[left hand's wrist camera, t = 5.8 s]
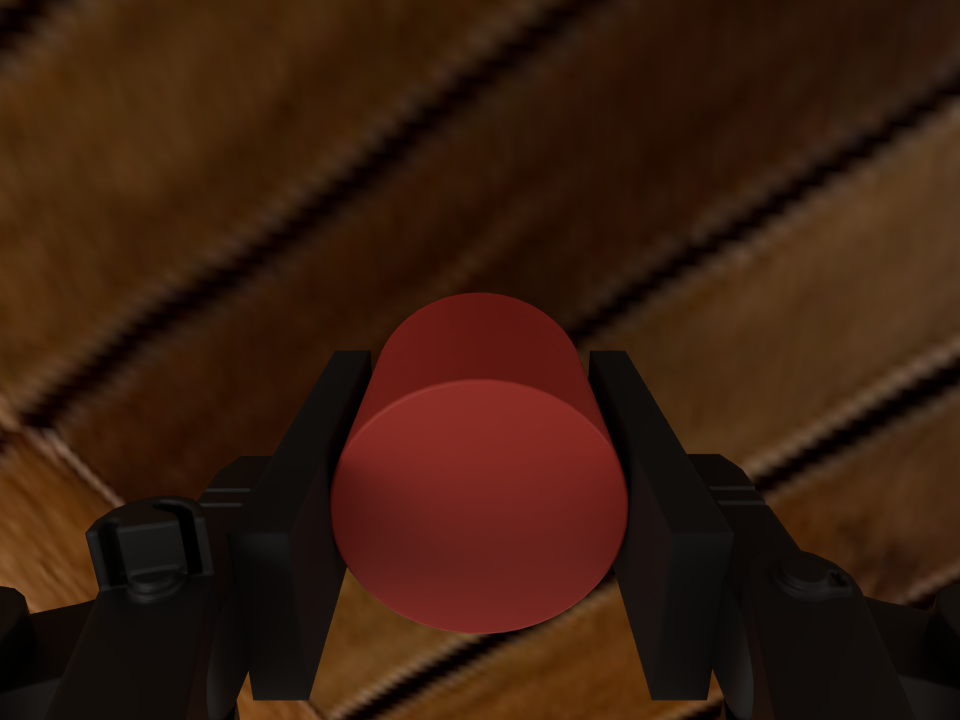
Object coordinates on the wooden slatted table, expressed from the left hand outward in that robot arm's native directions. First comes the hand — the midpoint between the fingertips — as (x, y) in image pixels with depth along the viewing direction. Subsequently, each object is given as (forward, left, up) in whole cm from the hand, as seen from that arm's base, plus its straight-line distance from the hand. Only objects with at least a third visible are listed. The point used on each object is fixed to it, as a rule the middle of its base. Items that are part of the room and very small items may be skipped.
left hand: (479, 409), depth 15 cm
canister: (0, 0, 0) cm, 0 cm away
